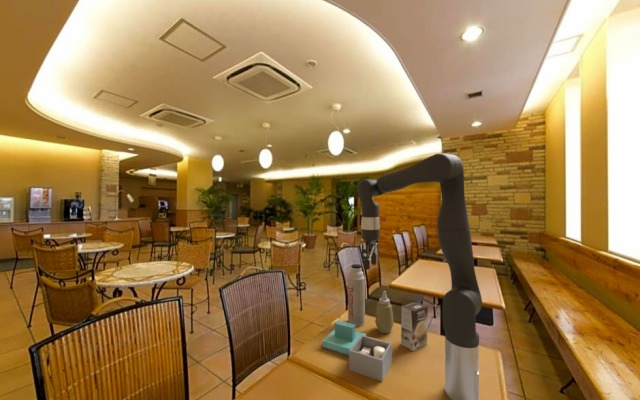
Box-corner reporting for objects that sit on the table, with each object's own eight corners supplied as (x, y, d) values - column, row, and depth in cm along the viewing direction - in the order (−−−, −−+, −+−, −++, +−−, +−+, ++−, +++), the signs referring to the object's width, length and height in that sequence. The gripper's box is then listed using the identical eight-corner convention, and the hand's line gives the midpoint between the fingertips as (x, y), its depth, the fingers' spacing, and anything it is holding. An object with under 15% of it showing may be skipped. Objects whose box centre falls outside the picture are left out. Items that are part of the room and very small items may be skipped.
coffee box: (413, 351, 106) (413, 311, 106) (400, 344, 111) (400, 305, 111) (428, 344, 111) (428, 306, 111) (415, 337, 116) (415, 300, 116)
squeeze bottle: (394, 336, 118) (394, 295, 117) (375, 334, 119) (375, 294, 119) (393, 327, 126) (392, 288, 125) (375, 325, 127) (375, 287, 127)
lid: (366, 339, 114) (366, 321, 114) (354, 356, 102) (353, 335, 102) (337, 331, 121) (337, 314, 120) (322, 346, 109) (322, 327, 109)
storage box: (392, 361, 100) (392, 343, 100) (382, 381, 89) (382, 360, 89) (361, 352, 106) (361, 334, 106) (349, 370, 95) (349, 350, 95)
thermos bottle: (352, 327, 125) (352, 268, 125) (345, 320, 133) (345, 263, 132) (367, 325, 128) (367, 266, 127) (360, 317, 135) (360, 262, 135)
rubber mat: (366, 340, 114) (366, 339, 114) (354, 358, 102) (354, 357, 102) (337, 332, 121) (337, 331, 121) (321, 348, 109) (321, 346, 109)
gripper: (373, 230, 103) (373, 272, 103) (384, 226, 115) (384, 264, 116) (355, 229, 107) (355, 269, 107) (367, 225, 119) (367, 261, 119)
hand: (370, 266), depth 111 cm, fingers open, 8 cm apart
